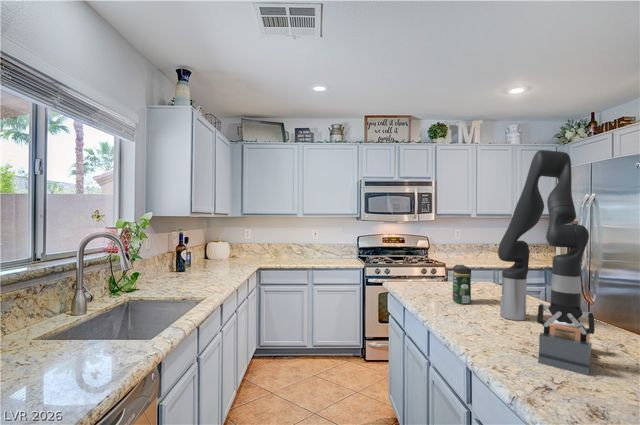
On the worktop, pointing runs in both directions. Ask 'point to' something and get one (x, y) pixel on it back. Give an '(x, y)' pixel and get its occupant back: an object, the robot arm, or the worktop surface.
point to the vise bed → (564, 353)
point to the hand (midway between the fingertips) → (564, 341)
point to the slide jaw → (567, 327)
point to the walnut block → (564, 333)
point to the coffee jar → (461, 284)
